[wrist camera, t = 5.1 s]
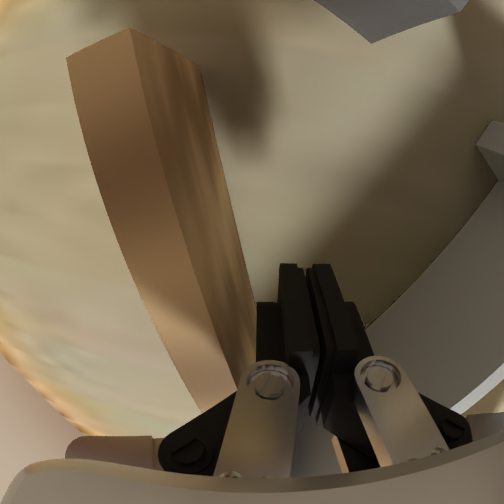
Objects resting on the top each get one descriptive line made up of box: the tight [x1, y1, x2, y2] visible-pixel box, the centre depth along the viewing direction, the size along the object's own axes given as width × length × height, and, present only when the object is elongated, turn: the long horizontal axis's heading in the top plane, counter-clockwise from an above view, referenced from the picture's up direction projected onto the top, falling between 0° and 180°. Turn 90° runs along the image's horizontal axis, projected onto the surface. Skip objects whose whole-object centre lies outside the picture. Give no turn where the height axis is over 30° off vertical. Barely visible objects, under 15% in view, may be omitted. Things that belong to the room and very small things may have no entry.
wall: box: [290, 120, 504, 478], centre depth 13 cm, size 28×4×9 cm, turn 145°
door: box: [66, 28, 257, 413], centre depth 12 cm, size 20×2×8 cm, turn 11°
